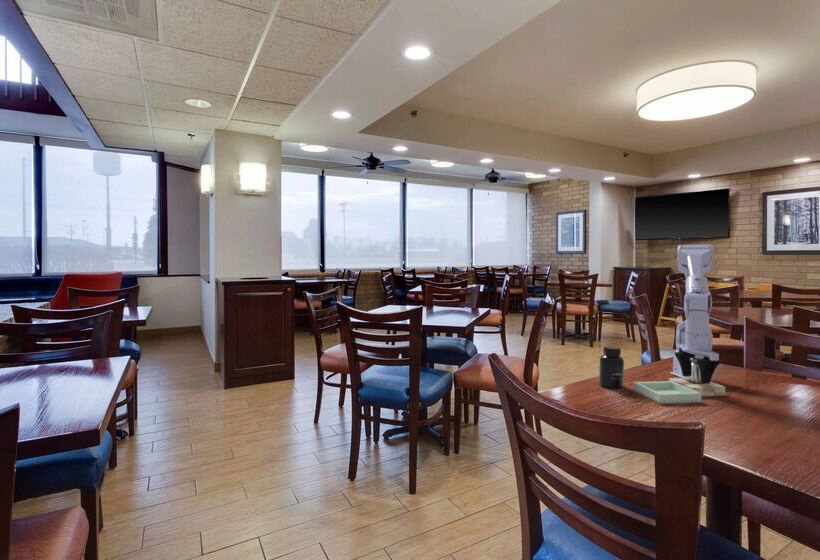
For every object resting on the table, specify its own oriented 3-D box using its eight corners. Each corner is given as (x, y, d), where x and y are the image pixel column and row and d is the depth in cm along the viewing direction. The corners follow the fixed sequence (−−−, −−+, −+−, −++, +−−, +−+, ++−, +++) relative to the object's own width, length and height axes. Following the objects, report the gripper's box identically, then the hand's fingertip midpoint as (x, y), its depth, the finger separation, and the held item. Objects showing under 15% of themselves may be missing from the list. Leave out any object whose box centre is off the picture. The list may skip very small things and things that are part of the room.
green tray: (633, 390, 128) (633, 382, 128) (671, 389, 129) (671, 381, 129) (659, 403, 116) (659, 394, 116) (701, 402, 117) (701, 393, 117)
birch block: (668, 386, 132) (668, 378, 132) (699, 385, 133) (699, 377, 133) (691, 396, 122) (691, 387, 122) (725, 395, 123) (725, 386, 123)
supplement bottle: (617, 390, 128) (618, 350, 127) (595, 385, 133) (595, 347, 133) (627, 386, 133) (627, 347, 132) (605, 381, 138) (605, 344, 137)
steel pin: (686, 389, 129) (687, 357, 128) (696, 389, 129) (697, 357, 129) (694, 392, 126) (695, 360, 125) (704, 392, 126) (705, 359, 125)
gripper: (667, 330, 134) (666, 373, 134) (702, 338, 119) (701, 386, 120) (689, 329, 134) (688, 372, 135) (726, 337, 120) (725, 386, 120)
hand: (695, 379), depth 127 cm, fingers open, 7 cm apart
